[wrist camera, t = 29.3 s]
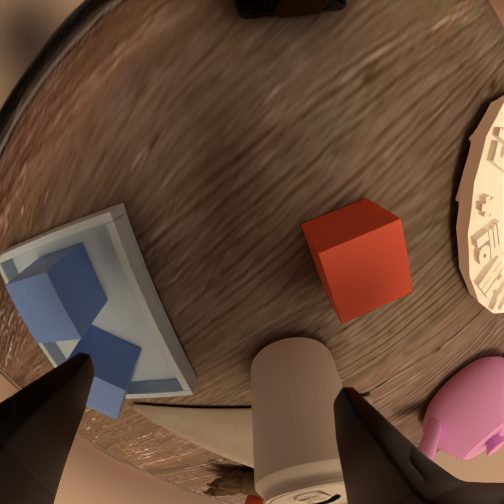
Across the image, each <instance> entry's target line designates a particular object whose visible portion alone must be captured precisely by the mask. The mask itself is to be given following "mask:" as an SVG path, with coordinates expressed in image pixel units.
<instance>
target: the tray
mask: <svg viewBox="0 0 504 504" xmlns="http://www.w3.org/2000/svg"><path fill="white" fill-rule="evenodd" d="M81 242H82V243H83V245H84V247H85V250H86V252H87V255H88V257H89V260H90V262H91V264H92V267H93V269H94V271H95V273H96V276H97V278H98V280H99V282H100V284H101V287H102V289H103V291H104V293H105V295H106V297H107V299H108V301H107V302H106V304H105V305H104V307H103V308H102V310H101V311H100V312H99V314H98V315H97V317H96V318H95V320H94V321H93V323H92V324H91V325H93V326H95V327H97V328H99V329H101V330H103V331H105V332H107V333H109V334H111V335H113V336H116V337H118V338H120V339H122V340H124V341H126V342H129V343H131V344H133V345H135V346H138V347H140V348H141V349H142V350H141V353H140V356H139V359H138V362H137V365H136V368H135V371H134V375H133V378H132V381H131V384H130V386H129V389H128V392H127V395H126V397H125V399H127V398H156V397H172V396H185V395H193V394H194V389H195V382H196V375H195V373H194V371H193V369H192V367H191V365H190V363H189V361H188V359H187V357H186V355H185V353H184V351H183V349H182V347H181V345H180V343H179V341H178V338H177V336H176V334H175V332H174V330H173V328H172V326H171V323H170V321H169V319H168V317H167V315H166V312H165V310H164V308H163V306H162V303H161V301H160V299H159V296H158V294H157V292H156V289H155V287H154V284H153V282H152V280H151V277H150V275H149V272H148V270H147V267H146V265H145V262H144V259H143V257H142V254H141V252H140V249H139V246H138V244H137V241H136V238H135V235H134V233H133V230H132V227H131V224H130V221H129V218H128V215H127V212H126V209H125V206H124V203H121V204H118V205H115V206H112V207H109V208H106V209H104V210H101V211H98V212H95V213H93V214H90V215H87V216H84V217H82V218H79V219H76V220H74V221H71V222H69V223H66V224H64V225H61V226H59V227H56V228H54V229H51V230H49V231H46V232H44V233H42V234H39V235H37V236H35V237H32V238H30V239H28V240H25V241H23V242H21V243H19V244H16V245H14V246H12V247H10V248H8V249H7V250H5V251H4V252H2V253H1V254H0V273H1V275H2V277H3V279H4V282H5V284H7V283H8V282H10V281H11V280H12V279H13V278H14V277H16V276H17V275H18V274H19V273H20V272H22V271H23V270H24V269H25V268H27V267H28V266H29V265H30V264H32V263H33V262H34V261H36V260H37V259H38V258H40V257H41V256H44V255H47V254H50V253H52V252H55V251H58V250H61V249H64V248H67V247H70V246H73V245H75V244H78V243H81ZM79 340H80V339H78V340H68V341H58V342H48V343H38V344H39V345H40V347H41V348H42V350H43V351H44V353H45V354H46V356H47V357H48V359H49V360H50V362H51V363H52V365H53V366H54V367H55V368H56V367H57V366H59V365H60V364H62V363H63V362H65V361H66V360H67V359H68V357H69V356H70V354H71V353H72V351H73V349H74V348H75V346H76V345H77V343H78V342H79Z"/></svg>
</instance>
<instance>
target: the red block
mask: <svg viewBox="0 0 504 504" xmlns="http://www.w3.org/2000/svg"><path fill="white" fill-rule="evenodd" d="M301 228H302V230H303V233H304V236H305V238H306V241H307V244H308V247H309V249H310V252H311V255H312V257H313V260H314V263H315V266H316V269H317V271H318V274H319V277H320V280H321V283H322V285H323V287H324V289H325V291H326V293H327V295H328V297H329V299H330V302H331V304H332V306H333V308H334V310H335V312H336V314H337V316H338V318H339V320H340V323H344V322H347V321H349V320H351V319H354V318H356V317H358V316H361V315H363V314H365V313H367V312H370V311H372V310H374V309H376V308H378V307H381V306H383V305H385V304H387V303H389V302H391V301H394V300H396V299H398V298H400V297H402V296H404V295H406V294H408V293H410V292H412V284H411V276H410V269H409V262H408V256H407V250H406V244H405V239H404V234H403V229H402V224H401V219H400V218H398V217H397V216H395V215H393V214H392V213H390V212H388V211H387V210H385V209H383V208H382V207H380V206H378V205H377V204H375V203H373V202H372V201H370V200H368V199H366V198H365V199H363V200H360V201H358V202H355V203H353V204H350V205H348V206H346V207H343V208H341V209H338V210H336V211H333V212H331V213H328V214H326V215H323V216H321V217H318V218H316V219H313V220H311V221H308V222H306V223H303V224H301Z"/></svg>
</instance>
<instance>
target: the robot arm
mask: <svg viewBox="0 0 504 504" xmlns="http://www.w3.org/2000/svg"><path fill="white" fill-rule="evenodd" d="M234 1H235V4H236V8H237V11H238V14H239V16H241V17H242V18H245V19H247V18H254V17H261V16H268V15H276V16H278V17H284V16H293V15H306V14H319V13H321V11H332V10H342V9H344V8H345V7H346V0H234ZM335 1H338V2H340V4H341V5H338V4H336V3H335ZM244 9H250V10H251V11H250V12H249V13H245V12H243V10H244ZM94 375H95V370H94V366H93V362H92V358H91V356H90V355H89V354H87V353H83V352H79V353H77V354H76V355H74V356H73V357H71V358H70V359H68V360H66V361H65V362H63V363H62V364H60V365H59V366H57V367H56V368H54V369H52V370H51V371H49V372H48V373H46V374H45V375H43V376H42V377H40V378H38V379H37V380H35V381H34V382H32V383H31V384H29V385H28V386H26V387H25V388H23V389H21V390H20V391H18V392H17V393H15V394H14V395H13V397H12V396H11V397H9V398H7V399H6V400H4V401H3V402H1V403H0V504H54V500H55V496H56V493H57V489H58V486H59V482H60V479H61V476H62V473H63V470H64V466H65V463H66V460H67V457H68V454H69V451H70V449H71V446H72V443H73V440H74V437H75V435H76V432H77V429H78V427H79V424H80V421H81V419H82V416H83V414H84V411H85V408H86V404H87V400H88V396H89V393H90V389H91V386H92V382H93V379H94ZM333 409H334V420H335V433H336V442H337V447H338V453H339V458H340V463H341V468H342V474H343V479H344V484H345V490H346V496H347V502H348V504H504V483H479V482H466V481H462V480H459V479H457V478H455V477H454V476H452V475H451V474H449V473H448V472H447V471H445V470H444V469H443V468H441V467H440V466H438V465H437V464H436V463H434V462H433V461H432V460H430V459H429V458H428V457H427V456H425V455H424V454H423V453H422V452H421V451H420V450H419V449H418V448H416V447H415V446H414V445H413V444H412V443H411V442H410V441H409V440H408V439H407V438H406V437H405V436H403V435H402V434H401V433H400V432H399V431H398V430H397V429H396V428H395V427H394V426H393V425H392V424H391V423H390V422H389V421H388V420H386V419H385V418H384V417H383V416H382V415H381V414H380V413H379V412H378V411H377V410H376V409H375V408H374V407H373V406H372V405H371V404H370V403H369V402H368V401H367V400H366V399H364V398H363V397H362V396H361V395H360V394H359V393H358V392H357V391H356V390H355V389H354V388H352V387H343V388H342V389H341V390H340V392H339V393H338V395H337V397H336V399H335V401H334V404H333Z"/></svg>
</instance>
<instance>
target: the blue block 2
mask: <svg viewBox="0 0 504 504" xmlns="http://www.w3.org/2000/svg"><path fill="white" fill-rule="evenodd" d="M141 350H142V349H141V348H140V347H138V346H135V345H133V344H131V343H129V342H126V341H124V340H122V339H120V338H118V337H116V336H113V335H111V334H109V333H107V332H105V331H103V330H101V329H99V328H97V327H95V326H93V325H91V326H90V327H89V329H88V330H87V332H86V333H85V335H84V336H83V338H82V339H80V340H79V342H78V343H77V345H76V346H75V348H74V349H73V351H72V353H71V354H70V356H69V357H68V359H70V358H71V357H73V356H74V355H76V354H77V353H79V352H83V353H87V354H89V355H90V356H91V358H92V362H93V366H94V370H95V375H94V379H93V382H92V386H91V389H90V393H89V396H88V400H87V404H86V406H88V407H90V408H92V409H94V410H96V411H98V412H100V413H103V414H105V415H107V416H109V417H112V418H114V419H116V420H117V419H118V417H119V414H120V412H121V409H122V406H123V403H124V400H125V397H126V395H127V392H128V389H129V386H130V384H131V381H132V378H133V375H134V371H135V368H136V365H137V362H138V359H139V356H140V353H141ZM68 359H67V360H68Z"/></svg>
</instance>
